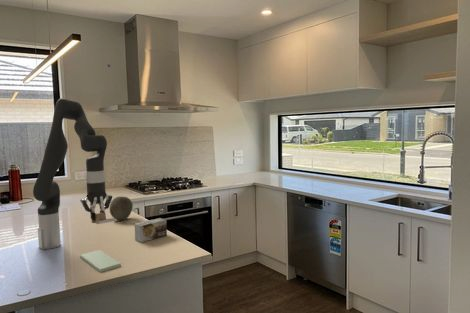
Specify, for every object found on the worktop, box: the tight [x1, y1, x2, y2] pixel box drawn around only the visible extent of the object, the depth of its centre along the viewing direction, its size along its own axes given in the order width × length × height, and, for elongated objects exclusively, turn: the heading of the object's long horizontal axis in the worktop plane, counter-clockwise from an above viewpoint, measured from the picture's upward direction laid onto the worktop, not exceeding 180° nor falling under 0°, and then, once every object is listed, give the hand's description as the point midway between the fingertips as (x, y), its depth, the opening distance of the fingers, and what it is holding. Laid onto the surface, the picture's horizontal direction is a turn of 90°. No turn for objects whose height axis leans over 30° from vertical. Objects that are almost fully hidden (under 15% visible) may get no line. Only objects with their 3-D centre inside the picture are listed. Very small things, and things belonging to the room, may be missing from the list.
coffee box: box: [134, 217, 168, 244], centre depth 187 cm, size 9×6×16 cm
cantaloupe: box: [109, 196, 133, 221], centre depth 224 cm, size 14×14×15 cm
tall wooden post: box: [90, 211, 116, 225], centre depth 151 cm, size 15×6×4 cm, turn 43°
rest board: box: [79, 249, 122, 273], centre depth 155 cm, size 9×23×1 cm, turn 43°
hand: (97, 219), depth 154 cm, fingers closed on tall wooden post, 3 cm apart
